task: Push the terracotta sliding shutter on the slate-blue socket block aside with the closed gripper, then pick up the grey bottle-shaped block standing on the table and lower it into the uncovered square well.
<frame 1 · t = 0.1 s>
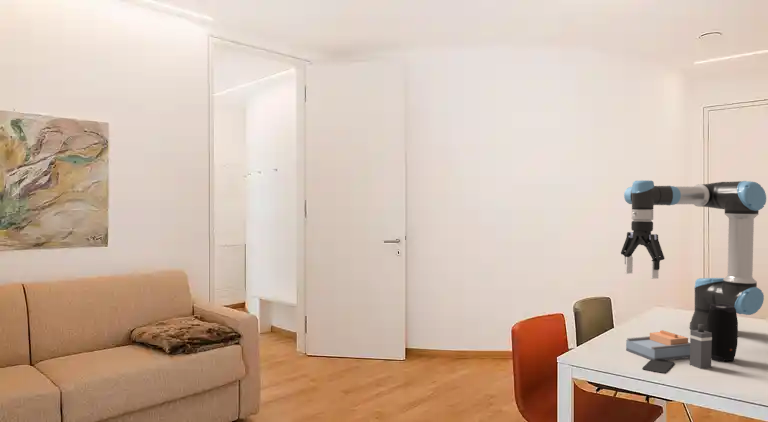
hand: (641, 275, 209), 28 cm above the table, tool pointing down, fingers open, 13 cm apart
shutter: (668, 337, 203), point 6 cm above the table, slide at 0.0 cm
phone: (658, 368, 187), on the table
portable speaker: (721, 359, 195), on the table
grey bottle-shaped block: (700, 366, 187), on the table
socket block: (661, 353, 202), on the table
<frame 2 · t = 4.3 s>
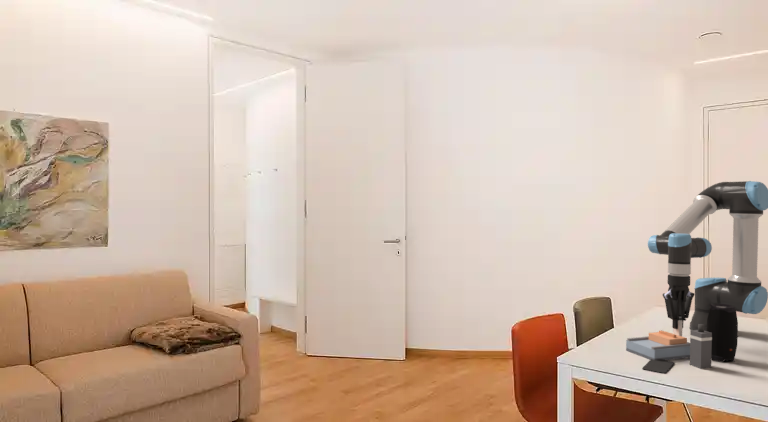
hand: (677, 337, 204), 6 cm above the table, tool pointing down, fingers closed
shutter: (667, 337, 203), point 6 cm above the table, slide at 0.5 cm, touching gripper
everything else where it was.
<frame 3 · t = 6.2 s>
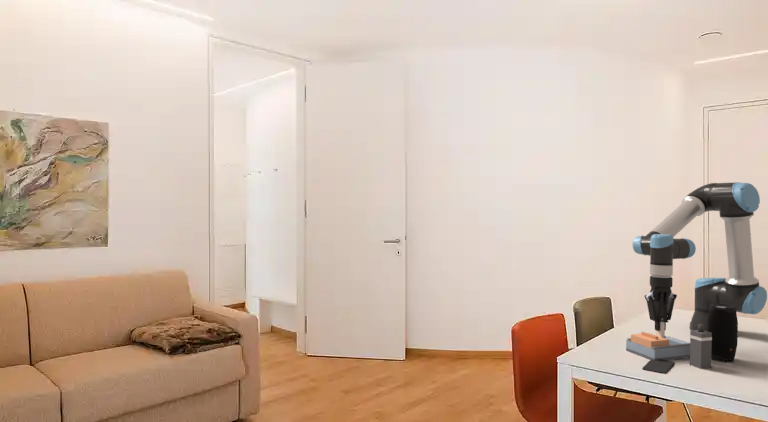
hand: (660, 339, 202), 5 cm above the table, tool pointing down, fingers closed
shutter: (649, 339, 201), point 6 cm above the table, slide at 8.7 cm, touching gripper
everything else where it was.
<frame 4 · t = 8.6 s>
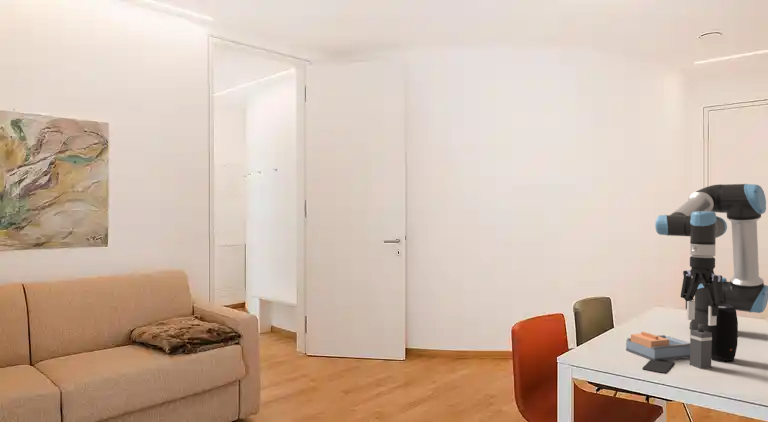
hand: (701, 322, 187), 15 cm above the table, tool pointing down, fingers open, 8 cm apart
shutter: (649, 339, 201), point 6 cm above the table, slide at 8.7 cm
everything else where it was.
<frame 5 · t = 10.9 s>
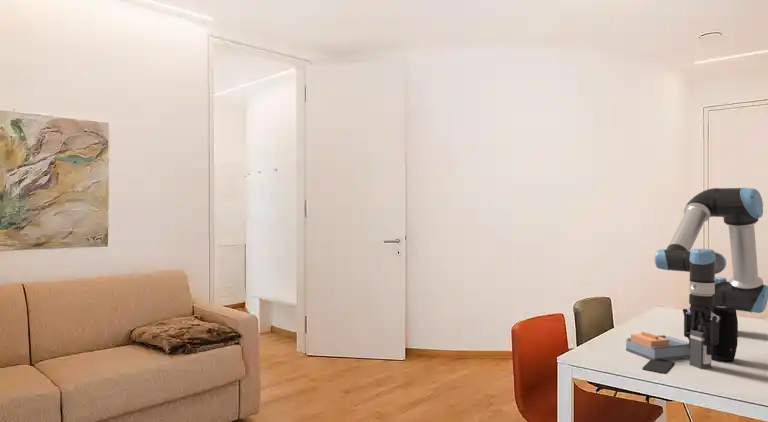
hand: (700, 361, 187), 2 cm above the table, tool pointing down, fingers closed on grey bottle-shaped block, 4 cm apart
grey bottle-shaped block: (700, 366, 187), on the table, touching gripper
everything else where it was.
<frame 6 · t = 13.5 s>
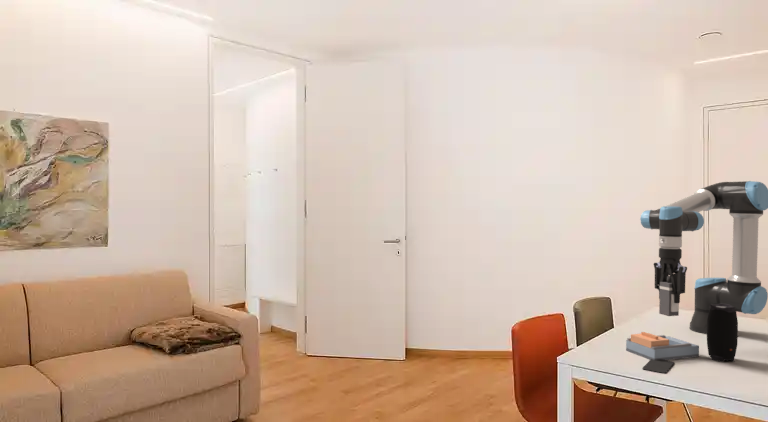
hand: (669, 310, 203), 16 cm above the table, tool pointing down, fingers closed on grey bottle-shaped block, 4 cm apart
grey bottle-shaped block: (668, 314, 203), point 14 cm above the table, touching gripper
everything else where it was.
when the fingers open (5 cm above the table, at t = 16.2 s): grey bottle-shaped block drops 2 cm, resting on socket block.
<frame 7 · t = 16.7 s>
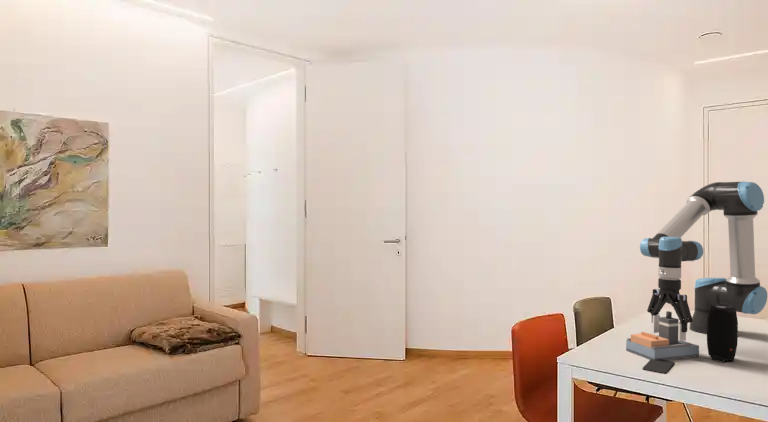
hand: (668, 336, 203), 6 cm above the table, tool pointing down, fingers open, 11 cm apart
grey bottle-shaped block: (668, 350, 203), point 1 cm above the table, touching socket block
everything else where it was.
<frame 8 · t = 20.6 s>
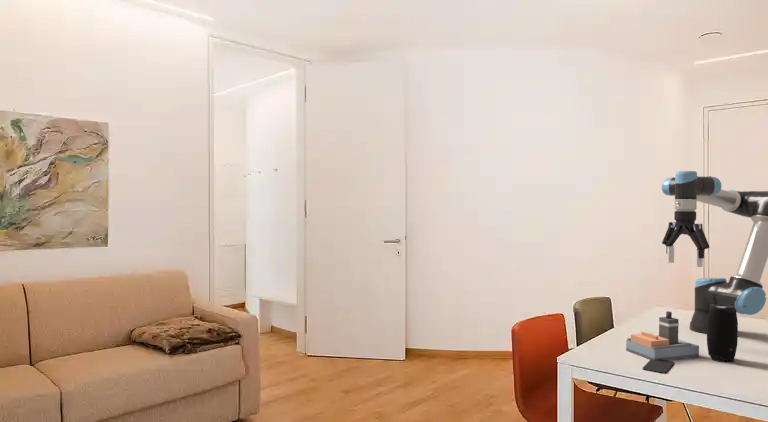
hand: (684, 264, 213), 32 cm above the table, tool pointing down, fingers open, 13 cm apart
nothing on the table moved.
at the end: grey bottle-shaped block 0.0 cm from the target spot on the socket block, point 1.0 cm above the socket block's base; grey bottle-shaped block tilted 0°; shutter slide at 8.7 cm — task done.
